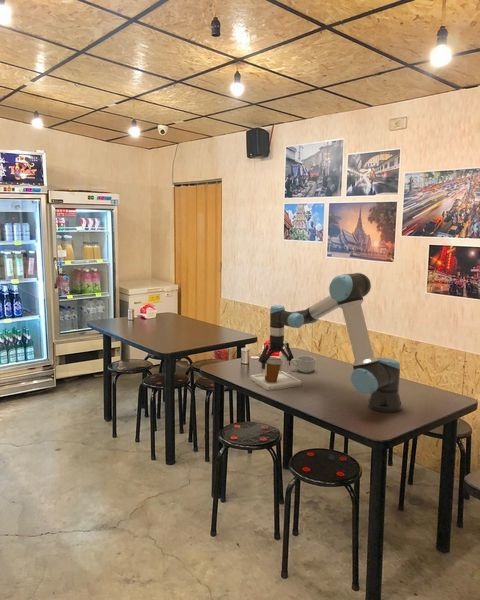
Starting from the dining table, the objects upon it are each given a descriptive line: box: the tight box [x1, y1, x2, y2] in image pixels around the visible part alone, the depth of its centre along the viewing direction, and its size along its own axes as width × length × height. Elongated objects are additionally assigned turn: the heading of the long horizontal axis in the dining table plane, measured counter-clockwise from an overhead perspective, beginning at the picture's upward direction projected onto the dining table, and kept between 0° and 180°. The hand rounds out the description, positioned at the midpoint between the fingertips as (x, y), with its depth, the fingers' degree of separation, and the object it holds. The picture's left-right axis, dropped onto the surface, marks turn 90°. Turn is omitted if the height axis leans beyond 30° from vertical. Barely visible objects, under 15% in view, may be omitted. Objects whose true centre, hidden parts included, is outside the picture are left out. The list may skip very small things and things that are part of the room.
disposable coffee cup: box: [265, 356, 283, 382], centre depth 269 cm, size 10×10×12 cm
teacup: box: [290, 355, 317, 374], centre depth 292 cm, size 14×11×8 cm
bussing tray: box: [250, 370, 303, 392], centre depth 271 cm, size 20×20×2 cm
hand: (275, 373), depth 271 cm, fingers open, 13 cm apart
